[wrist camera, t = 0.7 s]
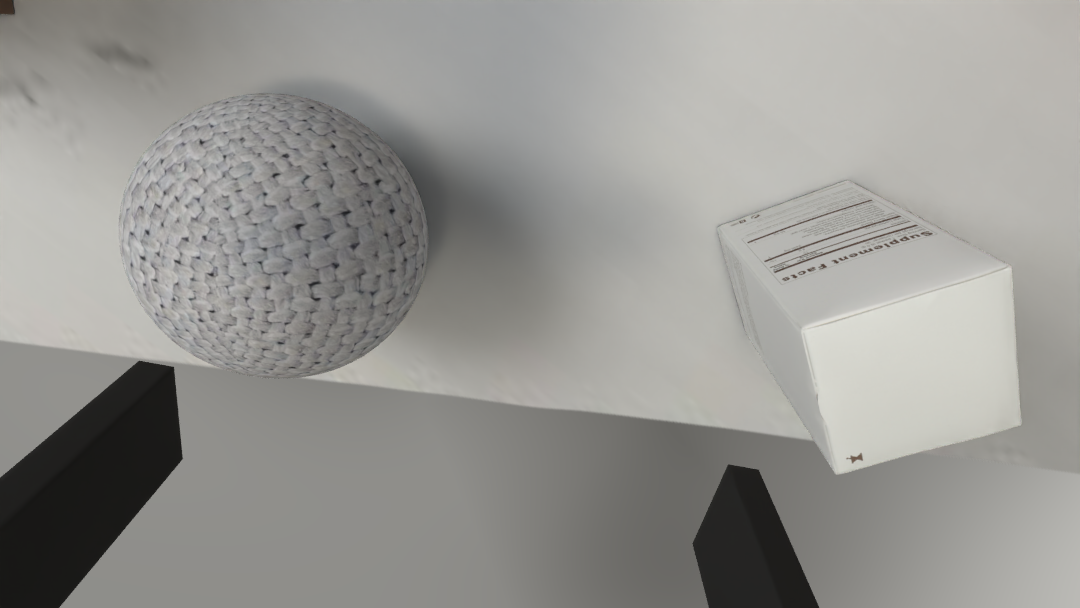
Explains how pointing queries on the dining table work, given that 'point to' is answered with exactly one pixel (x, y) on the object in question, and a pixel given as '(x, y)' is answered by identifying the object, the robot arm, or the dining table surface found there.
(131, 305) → the dining table surface
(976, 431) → the white product box
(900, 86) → the dining table surface
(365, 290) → the decorative ball
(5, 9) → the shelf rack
